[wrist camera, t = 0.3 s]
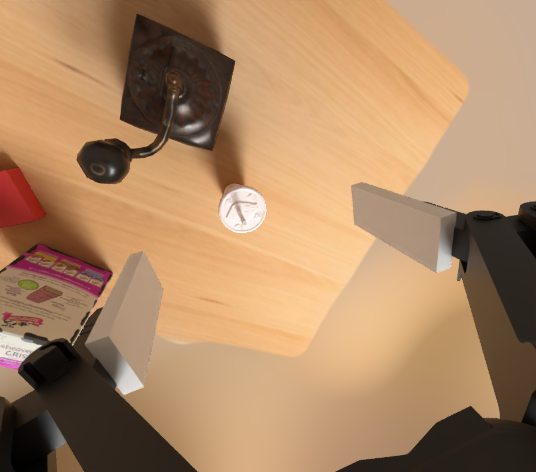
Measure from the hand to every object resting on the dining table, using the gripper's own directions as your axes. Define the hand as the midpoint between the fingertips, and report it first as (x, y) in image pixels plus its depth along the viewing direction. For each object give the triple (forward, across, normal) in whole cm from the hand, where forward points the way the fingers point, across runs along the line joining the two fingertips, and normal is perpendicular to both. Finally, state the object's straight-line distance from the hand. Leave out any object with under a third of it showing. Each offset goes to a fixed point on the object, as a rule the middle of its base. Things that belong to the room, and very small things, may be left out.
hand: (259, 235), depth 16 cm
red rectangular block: (+29, -30, +4) cm, 42 cm away
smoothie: (+28, +1, -4) cm, 28 cm away
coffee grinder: (+28, -4, +9) cm, 30 cm away
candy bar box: (+28, -27, -9) cm, 40 cm away
